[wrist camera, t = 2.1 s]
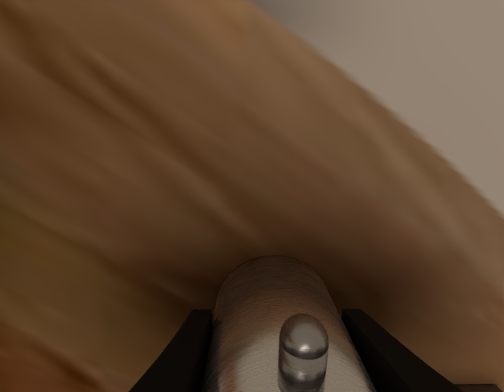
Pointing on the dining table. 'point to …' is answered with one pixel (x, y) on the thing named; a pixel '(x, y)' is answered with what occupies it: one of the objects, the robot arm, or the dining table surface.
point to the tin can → (280, 334)
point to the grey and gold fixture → (479, 388)
